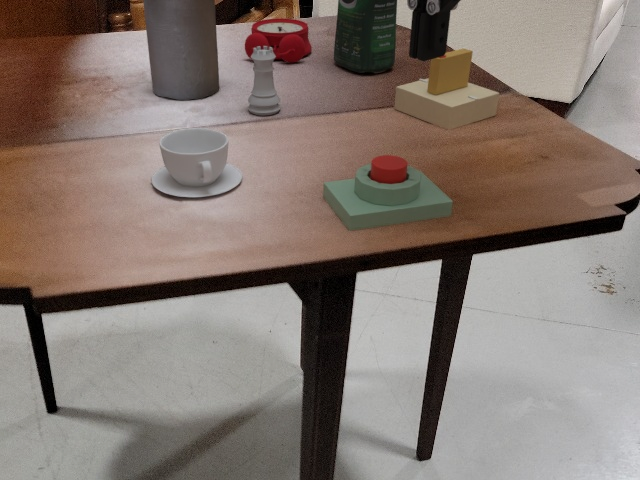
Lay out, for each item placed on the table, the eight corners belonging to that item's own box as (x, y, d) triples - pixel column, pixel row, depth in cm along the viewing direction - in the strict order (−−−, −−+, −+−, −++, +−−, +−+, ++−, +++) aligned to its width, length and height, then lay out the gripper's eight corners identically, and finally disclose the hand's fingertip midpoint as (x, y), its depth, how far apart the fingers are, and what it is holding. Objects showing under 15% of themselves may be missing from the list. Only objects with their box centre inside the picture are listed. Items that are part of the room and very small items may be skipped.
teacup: (143, 171, 83) (138, 130, 80) (226, 158, 86) (224, 118, 83) (164, 208, 76) (159, 165, 73) (254, 192, 79) (253, 150, 76)
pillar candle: (212, 76, 111) (205, -35, 101) (225, 97, 103) (220, -21, 94) (147, 82, 109) (135, -31, 99) (157, 103, 101) (144, -16, 92)
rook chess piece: (286, 107, 100) (286, 46, 95) (272, 118, 96) (271, 55, 92) (256, 103, 101) (255, 42, 96) (242, 113, 98) (239, 51, 93)
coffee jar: (402, 70, 113) (416, -68, 101) (360, 78, 110) (369, -64, 98) (365, 54, 119) (374, -77, 108) (325, 62, 116) (329, -73, 105)
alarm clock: (316, 19, 123) (305, 19, 109) (314, 59, 125) (303, 64, 112) (255, 17, 124) (237, 17, 111) (254, 57, 127) (237, 62, 113)
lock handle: (458, 83, 98) (464, 46, 95) (467, 86, 97) (473, 48, 94) (426, 92, 95) (431, 54, 92) (435, 95, 94) (440, 57, 91)
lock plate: (496, 115, 97) (500, 91, 95) (448, 130, 93) (452, 106, 91) (440, 95, 103) (443, 72, 101) (393, 108, 99) (395, 85, 97)
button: (397, 169, 76) (398, 153, 75) (411, 183, 73) (413, 166, 72) (364, 173, 75) (366, 157, 74) (378, 188, 72) (379, 171, 71)
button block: (417, 184, 80) (421, 153, 78) (450, 216, 74) (455, 184, 72) (322, 197, 78) (323, 165, 76) (349, 231, 72) (351, 198, 70)
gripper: (564, -194, 53) (518, 67, 64) (417, -194, 63) (400, 33, 74) (495, -191, 50) (459, 85, 61) (350, -191, 59) (343, 47, 70)
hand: (427, 56), depth 67 cm, fingers closed
